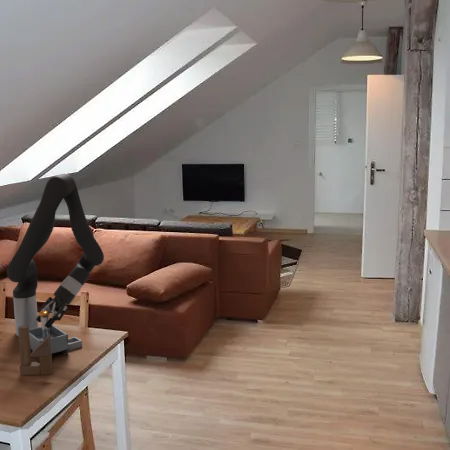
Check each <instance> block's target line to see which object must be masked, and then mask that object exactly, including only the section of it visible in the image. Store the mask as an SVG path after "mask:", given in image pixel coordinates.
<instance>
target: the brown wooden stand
mask: <svg viewBox="0 0 450 450" xmlns="http://www.w3.org/2000/svg"><path fill="white" fill-rule="evenodd" d="M18 333H19V336H18V345H19V357H20V358H19V359H20V365H19V376H21V377H22V376H24V377H25V376H46V375H47V376H49V375H50V376H51V375H52V373H53V371H54V369H53V358H52V357H53V353H51V337H50V334H49V335H48V336H47V338H46V339H45V340H44V341H43V342H42V343H41V344H40V345H39V346H38V347H37V348H36V349H35V350H34V351H33V352H32V353H31V349H30V336H29V326H28V325H22V326H19V327H18ZM39 356H40V357H39ZM32 357H33V358H34V357H35V358H36V357H39V358H40V362H38V361H32Z"/></svg>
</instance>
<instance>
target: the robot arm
mask: <svg viewBox="0 0 450 450" xmlns="http://www.w3.org/2000/svg"><path fill="white" fill-rule="evenodd" d="M80 197H81V196H80V194H79V190H78V187H77V183H76V180H75V179H74V178H73V176H71V175H70V174H68V173H61V174H57V175H54V176H51V177H50V178H49V179H48V180H47V181H46V184H45V187H44V190H43V193H42V195H41V199H40V202H39V204H38V206H37V207H36V210H35V212H34V215H33V217H32V218H31V220H30V222H29V225H28V226H27V228H26V232H25V233H24V236H23V238H22V240H21V242H20V245H19V246H18V248H17V251H16V252H15V253H14V255H13V257H12V259H11V260H10V261H9V264H8V266H7V268H6V275H7V277H8V280H10V282H12V283H17V284H16V286H15V287H14V288H13V290H12V299H13V300H12V301H13V310H14V313H13V314H14V323H15V325H14V326H15V335H16V337H19V333H18V327H19V326H22V325H28V326H29V330H30V329H34V328H38V327H39V323H41V317H40V316H39V313H38V303H37V288H38V268H37V264H36V262H35V260H34V257H35V256H36V255H37V254H38V252H39V251H40V250H41V249H43V247H44V246H45V245H46V243H47V242H48V241H49V239H50V236H51V234H52V232H53V231H54V228H55V225H56V222H55V221H56V213H57V210H58V208H59V206H60V205H61V202H62V201H63V200H64V202H65V205H66V207H67V211H68V215H69V216H68V217H69V225H70V227H71V231H72V233H73V234H72V235H73V236H74V238H75V240H76V243H77V244H78V246H80V247H81V249H82V251H83V254H82V255H81V256H80V259H79V260H78V262H76V263H77V264H76V265H75V267H73V269H72V270H71V271H70V273H69V274H68V275H67V276H66V278H64V279H63V281H62V282H61V283H60V284H59V286H58V287H57V288H56V290H55V291H54V292H53V296H54V297H51V296H49V297H48V298H47V299H46V300H45V302H44V303H43V304H42V306H41V307H40V310H41V311H45V310H48V311H50V313H51V316H50V317H49V320H48V321H47V323H46V324H45V327H47V328H48V329H49V328H50V327H51V326H52V324H53V325H54V323H55V322H57V321H58V322H59V321H60V320H62V319H63V317H64V316H65V314H66V313H67V311H68V310H69V307H68V306H69V305H70V304H71V303H72V302H73V301H74V299H75V298H76V297H77V295H78V294H79V293H80V291H81V289H82V288H83V286H84V285H85V284H86V282H87V281H88V280H89V278H90V276H91V275H90V274H91V272H92V270H93V269H94V268H95V267H98V266H100V265H102V263H103V262H104V260H105V259H104V258H105V255H104V252H103V250H102V248H101V246H100V244H99V242H98V241H97V239H96V238H95V237H94V233H93V231H92V229H91V227H90V226H91V225H89V223H88V220H87V218H86V214H85V212H84V208H83V204H82V202H81V199H80Z"/></svg>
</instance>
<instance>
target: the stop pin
mask: <svg viewBox="0 0 450 450" xmlns="http://www.w3.org/2000/svg"><path fill="white" fill-rule="evenodd" d="M50 315H51V312H50V311H48V310H45V311H39V312H38V316H40V317H41V322H40V324H41V326H40V327H42V338H43V340H45V339H46V338H47V336H48V335H49V334H50V328H49V329H48V328H47V327H45V324H46V323H47V321H48V320H49V319H50ZM50 337H51V336H50Z"/></svg>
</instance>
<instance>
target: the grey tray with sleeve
mask: <svg viewBox="0 0 450 450" xmlns="http://www.w3.org/2000/svg"><path fill="white" fill-rule="evenodd" d="M29 336H30V349H31V353H32V352H33V351H34V350H35V349H36V348H37V347H38V346H39V345H40V344H41V343H42V342H43V341H44V340H43V338H42V326H38V328H34V329H30V330H29ZM50 336H51V353H52V354H55V353H59V352H62V353H63V355H68V354H70V351H72V350H74V349H75V350H76V349H79V348H82V347H83V340H82V339H80V338H78V337H77V336H72V337H69V334H68V333H67V332H65V331H64V330H61V329H60V328H59V327H57V326H56V325H54V323H53V324H52V326H51V327H50ZM39 357H40V356H39ZM39 357H35V358H36V362H38V363H40V358H39Z"/></svg>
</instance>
